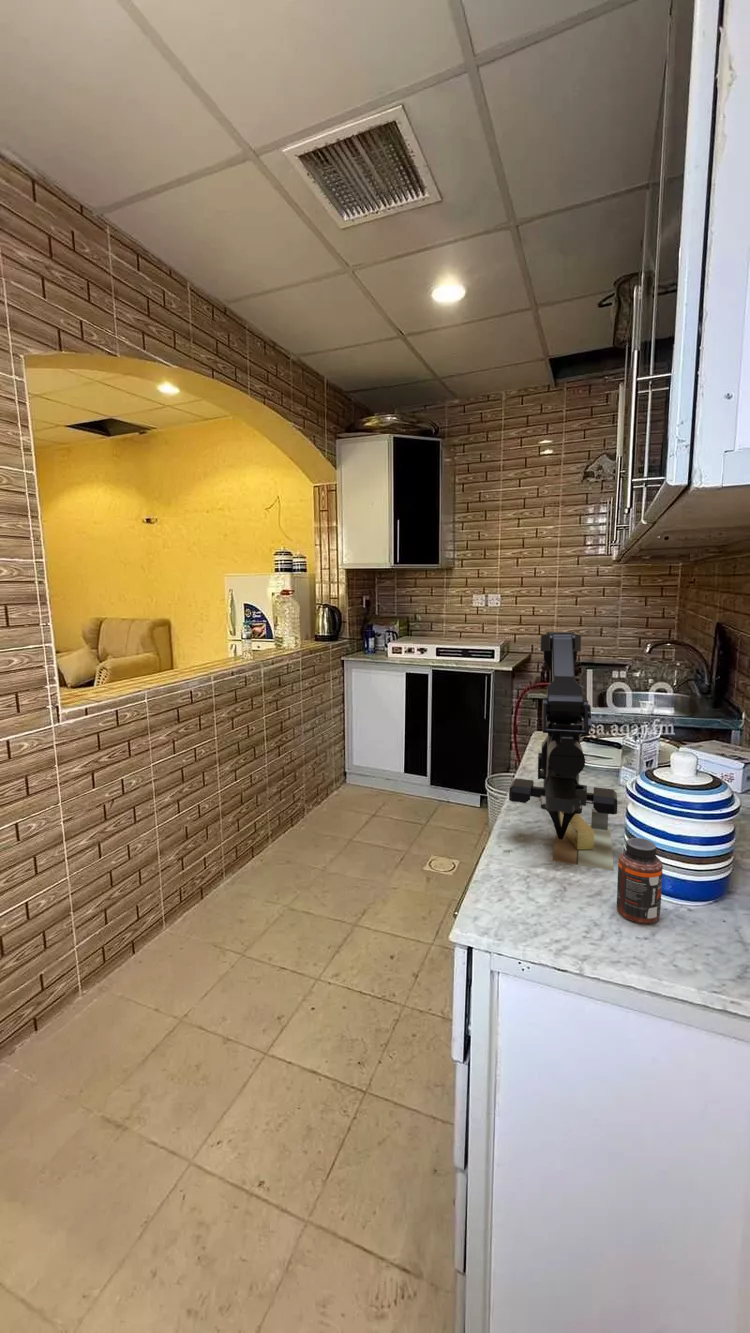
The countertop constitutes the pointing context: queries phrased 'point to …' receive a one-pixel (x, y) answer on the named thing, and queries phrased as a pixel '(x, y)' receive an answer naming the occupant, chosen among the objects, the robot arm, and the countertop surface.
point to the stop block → (599, 820)
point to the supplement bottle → (639, 882)
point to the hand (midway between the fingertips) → (560, 838)
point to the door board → (586, 851)
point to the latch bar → (579, 832)
